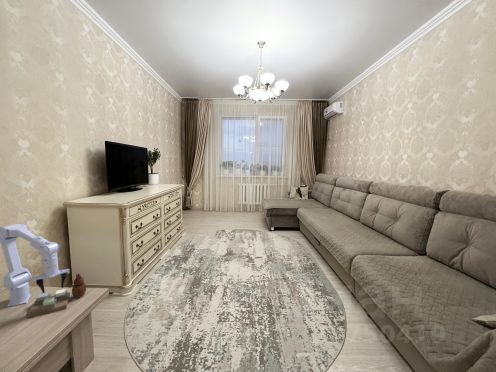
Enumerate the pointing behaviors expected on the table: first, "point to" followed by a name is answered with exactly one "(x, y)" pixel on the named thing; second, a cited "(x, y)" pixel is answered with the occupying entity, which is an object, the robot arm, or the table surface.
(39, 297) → the grey button
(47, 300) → the green button
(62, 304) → the console
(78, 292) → the wooden figurine
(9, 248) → the robot arm
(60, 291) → the white button
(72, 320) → the table surface
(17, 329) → the table surface
